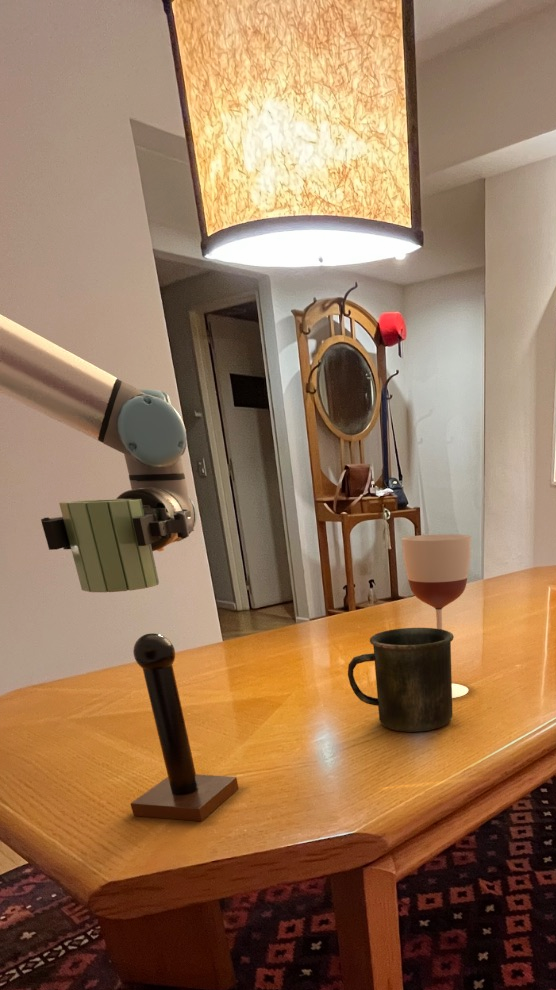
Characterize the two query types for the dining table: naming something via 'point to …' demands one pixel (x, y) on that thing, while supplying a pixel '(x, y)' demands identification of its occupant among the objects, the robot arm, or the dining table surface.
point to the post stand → (174, 744)
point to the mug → (410, 678)
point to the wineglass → (438, 573)
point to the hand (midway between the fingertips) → (94, 533)
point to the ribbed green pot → (108, 545)
